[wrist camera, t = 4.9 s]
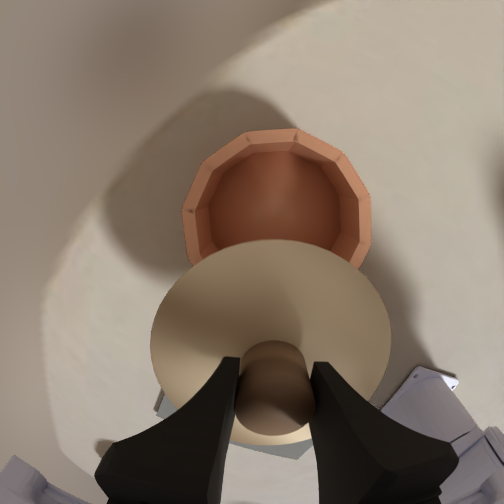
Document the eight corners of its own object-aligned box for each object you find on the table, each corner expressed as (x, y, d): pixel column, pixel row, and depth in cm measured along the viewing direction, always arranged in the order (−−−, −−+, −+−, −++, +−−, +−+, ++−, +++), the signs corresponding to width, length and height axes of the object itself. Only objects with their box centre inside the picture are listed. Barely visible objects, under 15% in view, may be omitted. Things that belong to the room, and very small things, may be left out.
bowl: (306, 308, 20) (316, 339, 16) (180, 251, 20) (158, 269, 15) (369, 184, 18) (398, 186, 14) (239, 119, 17) (232, 100, 13)
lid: (313, 451, 14) (320, 495, 10) (135, 391, 14) (109, 434, 10) (423, 298, 12) (466, 327, 8) (205, 194, 12) (180, 192, 8)
